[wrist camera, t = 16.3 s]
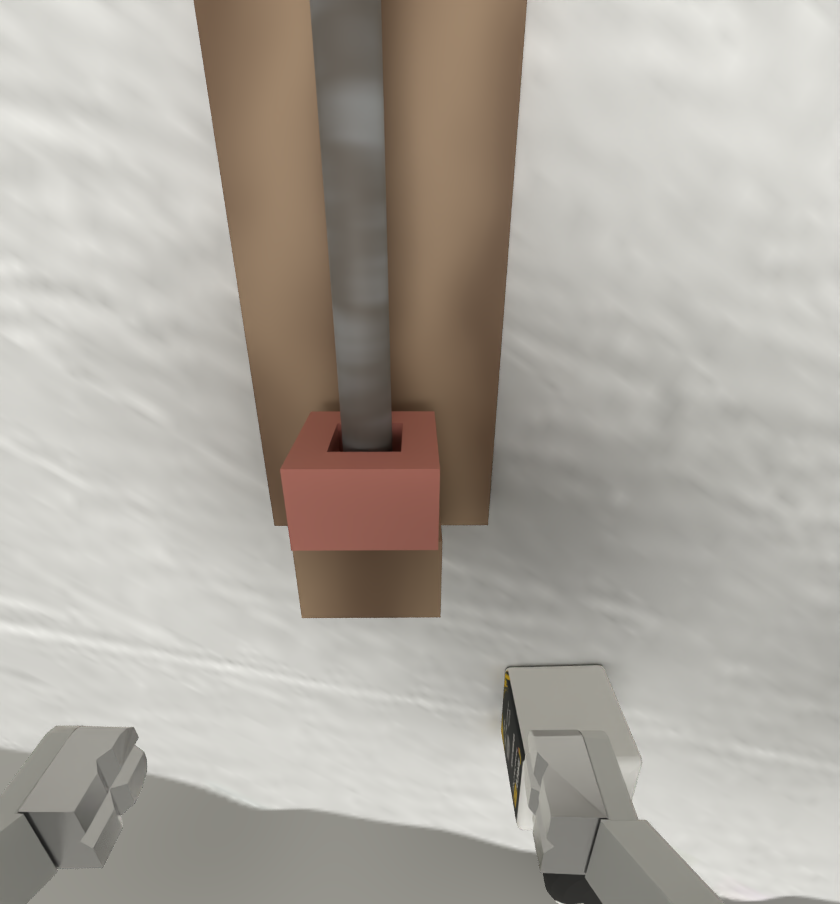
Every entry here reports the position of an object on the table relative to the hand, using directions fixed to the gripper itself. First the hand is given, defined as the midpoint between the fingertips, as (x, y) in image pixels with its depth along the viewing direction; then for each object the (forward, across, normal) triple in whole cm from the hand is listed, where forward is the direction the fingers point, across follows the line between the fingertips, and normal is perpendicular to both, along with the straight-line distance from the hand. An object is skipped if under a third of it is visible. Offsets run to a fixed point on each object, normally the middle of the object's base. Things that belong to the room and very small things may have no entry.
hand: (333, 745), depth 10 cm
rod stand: (+18, 0, +9) cm, 21 cm away
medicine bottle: (+19, +11, -23) cm, 32 cm away
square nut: (+14, 0, 0) cm, 14 cm away
